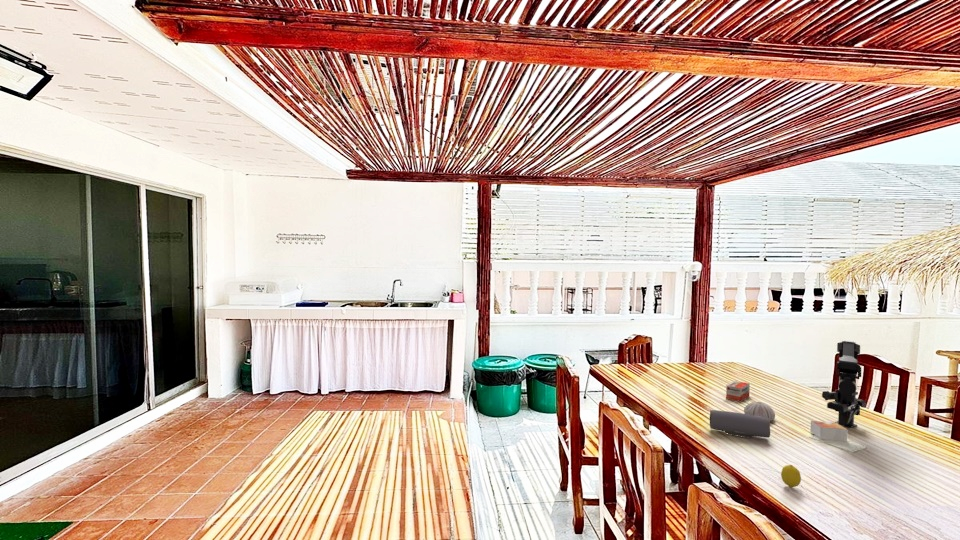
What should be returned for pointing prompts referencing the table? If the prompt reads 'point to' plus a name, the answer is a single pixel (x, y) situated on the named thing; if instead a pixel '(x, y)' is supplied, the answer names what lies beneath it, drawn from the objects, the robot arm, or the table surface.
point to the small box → (828, 431)
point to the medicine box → (737, 390)
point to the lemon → (791, 476)
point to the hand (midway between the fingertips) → (846, 423)
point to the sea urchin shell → (760, 410)
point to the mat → (841, 444)
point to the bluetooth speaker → (740, 424)
